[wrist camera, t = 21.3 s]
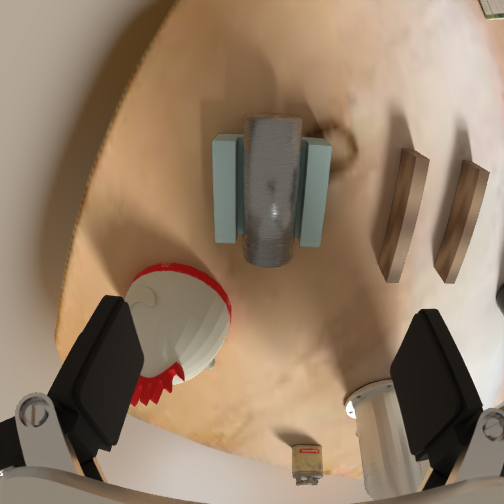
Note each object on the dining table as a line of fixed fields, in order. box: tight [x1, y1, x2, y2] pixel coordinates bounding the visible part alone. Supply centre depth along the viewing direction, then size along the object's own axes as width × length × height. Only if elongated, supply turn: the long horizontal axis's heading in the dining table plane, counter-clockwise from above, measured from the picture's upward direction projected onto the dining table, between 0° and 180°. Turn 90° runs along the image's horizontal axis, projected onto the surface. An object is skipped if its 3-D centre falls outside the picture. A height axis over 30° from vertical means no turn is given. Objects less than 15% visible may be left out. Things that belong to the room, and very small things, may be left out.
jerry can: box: [292, 445, 323, 486], centre depth 58 cm, size 7×4×10 cm, turn 80°
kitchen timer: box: [124, 263, 231, 407], centre depth 34 cm, size 14×14×15 cm
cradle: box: [212, 134, 332, 247], centre depth 30 cm, size 10×10×4 cm
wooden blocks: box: [378, 148, 490, 284], centre depth 30 cm, size 14×10×4 cm
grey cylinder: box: [243, 113, 303, 267], centre depth 27 cm, size 13×5×5 cm, turn 179°
